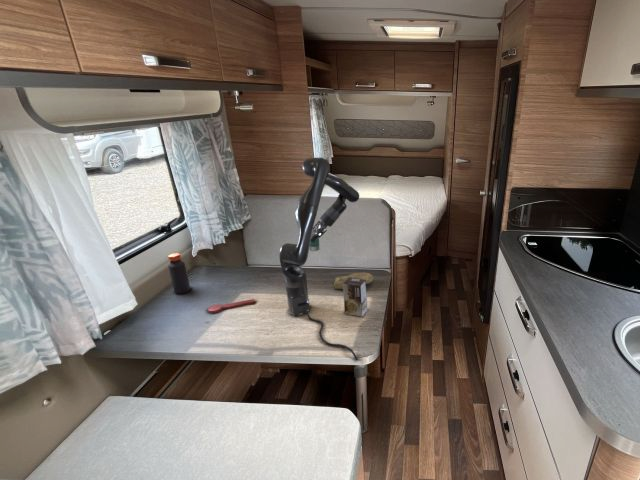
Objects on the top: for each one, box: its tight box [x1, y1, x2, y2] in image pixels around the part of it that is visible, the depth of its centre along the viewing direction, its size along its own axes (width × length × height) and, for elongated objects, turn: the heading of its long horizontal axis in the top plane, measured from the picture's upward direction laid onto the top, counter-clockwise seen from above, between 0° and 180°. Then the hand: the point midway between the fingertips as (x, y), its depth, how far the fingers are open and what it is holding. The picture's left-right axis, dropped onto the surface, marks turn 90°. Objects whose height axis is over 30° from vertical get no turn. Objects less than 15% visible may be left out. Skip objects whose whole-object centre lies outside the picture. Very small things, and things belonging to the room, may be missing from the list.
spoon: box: [207, 298, 255, 314], centre depth 159 cm, size 6×20×1 cm, turn 115°
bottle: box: [167, 252, 191, 295], centre depth 169 cm, size 7×7×20 cm
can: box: [309, 231, 321, 252], centre depth 185 cm, size 6×6×10 cm
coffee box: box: [342, 277, 368, 317], centre depth 155 cm, size 9×6×16 cm
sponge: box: [333, 271, 374, 290], centre depth 179 cm, size 13×8×20 cm
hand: (310, 239), depth 184 cm, fingers closed on can, 5 cm apart
